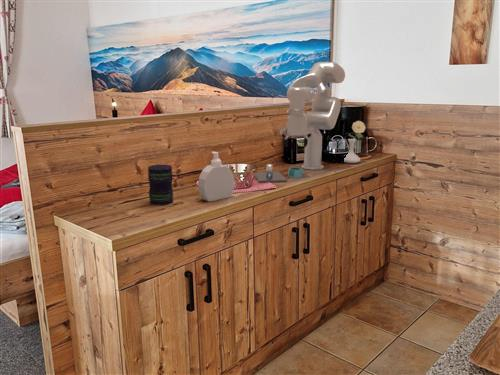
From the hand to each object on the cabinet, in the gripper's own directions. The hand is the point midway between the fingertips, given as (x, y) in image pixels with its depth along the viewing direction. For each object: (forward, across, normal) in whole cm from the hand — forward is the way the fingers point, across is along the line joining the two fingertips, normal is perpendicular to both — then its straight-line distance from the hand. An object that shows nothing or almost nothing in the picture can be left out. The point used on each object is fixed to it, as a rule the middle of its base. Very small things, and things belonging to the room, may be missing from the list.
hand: (295, 146), depth 237 cm
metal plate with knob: (+16, -14, -2) cm, 21 cm away
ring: (+16, 0, 0) cm, 16 cm away
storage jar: (+17, -67, -40) cm, 79 cm away
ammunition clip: (+16, -40, -25) cm, 49 cm away
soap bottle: (+16, -44, -37) cm, 59 cm away
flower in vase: (+15, +43, +32) cm, 56 cm away
